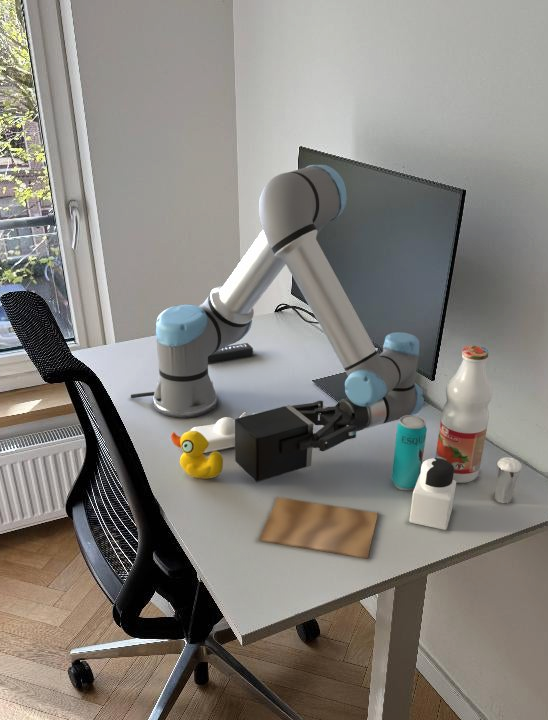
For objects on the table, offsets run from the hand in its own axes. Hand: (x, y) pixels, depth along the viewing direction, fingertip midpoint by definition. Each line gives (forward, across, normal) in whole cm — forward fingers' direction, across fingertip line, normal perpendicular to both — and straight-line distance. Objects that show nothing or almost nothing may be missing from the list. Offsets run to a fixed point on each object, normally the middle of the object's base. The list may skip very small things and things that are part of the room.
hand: (269, 437), depth 152 cm
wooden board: (0, -20, -9) cm, 22 cm away
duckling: (+12, +8, -10) cm, 18 cm away
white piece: (+1, +18, -10) cm, 20 cm away
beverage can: (-23, -16, -10) cm, 30 cm away
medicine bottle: (-20, -28, -10) cm, 36 cm away
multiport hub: (-21, +59, -10) cm, 64 cm away
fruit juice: (-36, -18, -10) cm, 41 cm away
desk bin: (-1, 0, -6) cm, 7 cm away
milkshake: (-37, -30, -9) cm, 49 cm away
